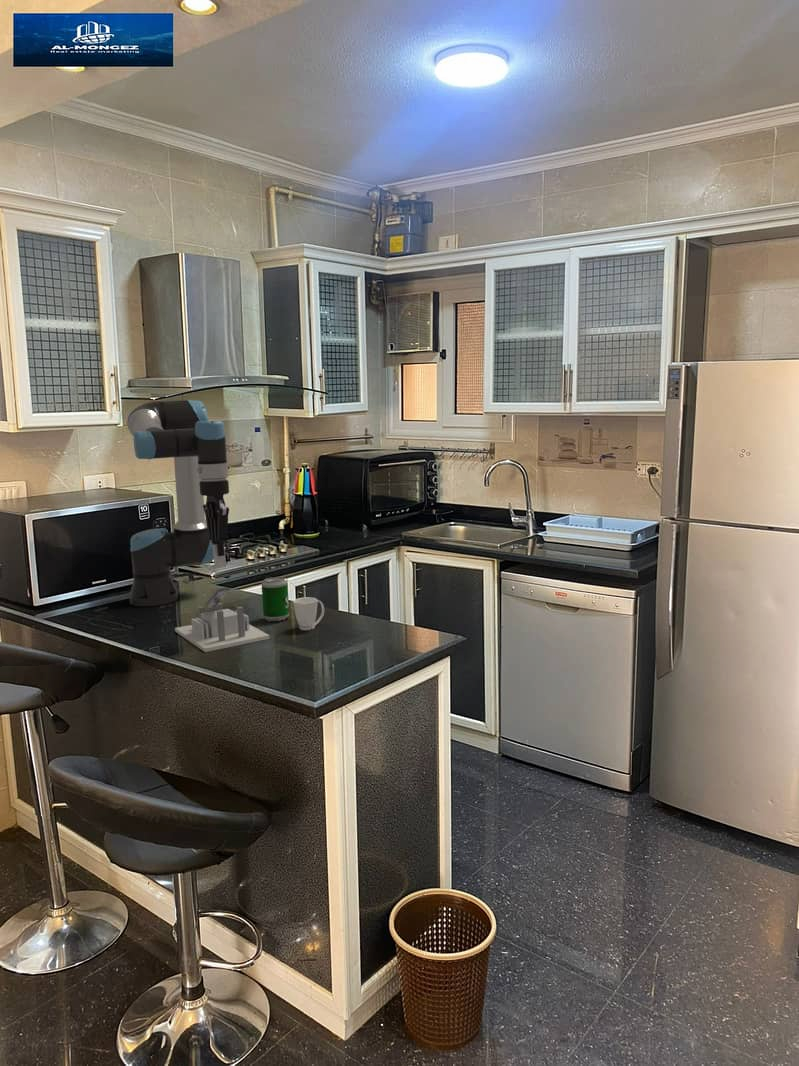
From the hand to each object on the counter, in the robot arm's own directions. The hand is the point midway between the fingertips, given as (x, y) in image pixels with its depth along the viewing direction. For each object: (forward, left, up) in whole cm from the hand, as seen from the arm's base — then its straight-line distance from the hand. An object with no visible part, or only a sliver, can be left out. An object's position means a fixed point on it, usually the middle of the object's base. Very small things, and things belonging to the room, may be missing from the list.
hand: (220, 567), depth 211 cm
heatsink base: (-3, 0, -20) cm, 20 cm away
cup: (+6, +23, -20) cm, 31 cm away
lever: (-4, 0, -10) cm, 11 cm away
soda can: (-8, +19, -20) cm, 29 cm away
